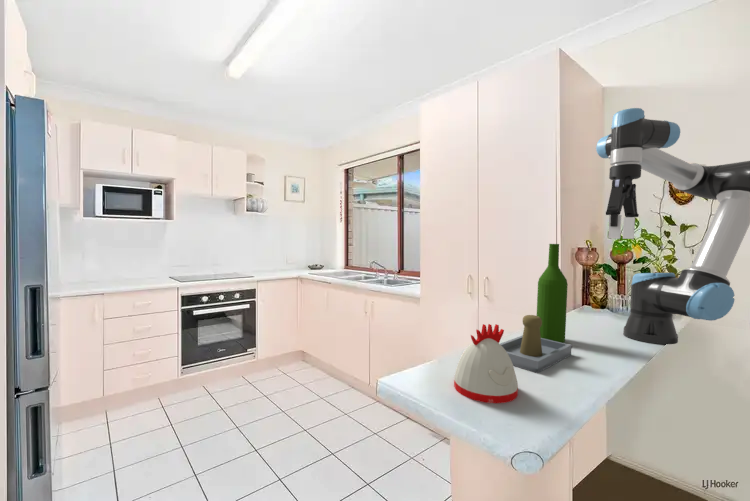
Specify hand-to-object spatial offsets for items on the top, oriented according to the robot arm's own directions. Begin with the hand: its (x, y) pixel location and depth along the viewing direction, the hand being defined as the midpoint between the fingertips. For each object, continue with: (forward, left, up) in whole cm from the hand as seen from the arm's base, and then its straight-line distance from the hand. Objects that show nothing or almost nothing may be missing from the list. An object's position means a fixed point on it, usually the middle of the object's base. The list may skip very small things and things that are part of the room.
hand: (621, 238), depth 104 cm
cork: (+26, -3, -34) cm, 43 cm away
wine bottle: (+9, -17, -35) cm, 40 cm away
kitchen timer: (+50, +15, -35) cm, 63 cm away
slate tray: (+26, -3, -35) cm, 43 cm away
